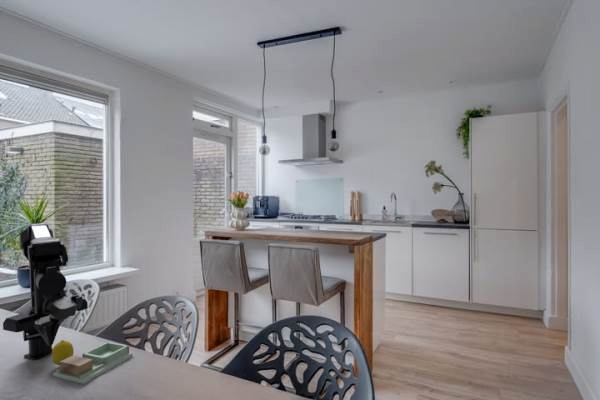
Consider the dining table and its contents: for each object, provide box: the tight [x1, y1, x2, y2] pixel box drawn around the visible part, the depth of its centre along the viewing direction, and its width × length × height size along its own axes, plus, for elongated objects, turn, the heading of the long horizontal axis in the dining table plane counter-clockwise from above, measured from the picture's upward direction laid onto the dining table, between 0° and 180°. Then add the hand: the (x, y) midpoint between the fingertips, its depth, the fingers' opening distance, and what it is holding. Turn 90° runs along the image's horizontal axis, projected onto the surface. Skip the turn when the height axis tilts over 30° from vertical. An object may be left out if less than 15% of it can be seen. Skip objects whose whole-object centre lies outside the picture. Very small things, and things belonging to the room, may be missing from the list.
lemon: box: [51, 339, 75, 366], centre depth 107 cm, size 6×6×8 cm
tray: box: [52, 341, 134, 385], centre depth 107 cm, size 12×17×3 cm
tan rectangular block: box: [59, 354, 93, 377], centre depth 102 cm, size 8×4×3 cm, turn 69°
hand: (50, 344), depth 95 cm, fingers closed
